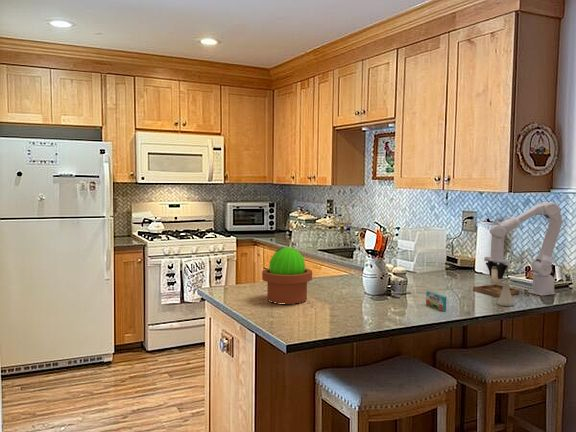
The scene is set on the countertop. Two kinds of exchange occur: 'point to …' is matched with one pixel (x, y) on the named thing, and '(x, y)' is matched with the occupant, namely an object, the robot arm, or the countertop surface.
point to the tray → (493, 290)
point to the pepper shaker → (495, 275)
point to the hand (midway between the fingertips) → (496, 277)
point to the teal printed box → (436, 300)
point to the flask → (505, 296)
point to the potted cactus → (287, 277)
